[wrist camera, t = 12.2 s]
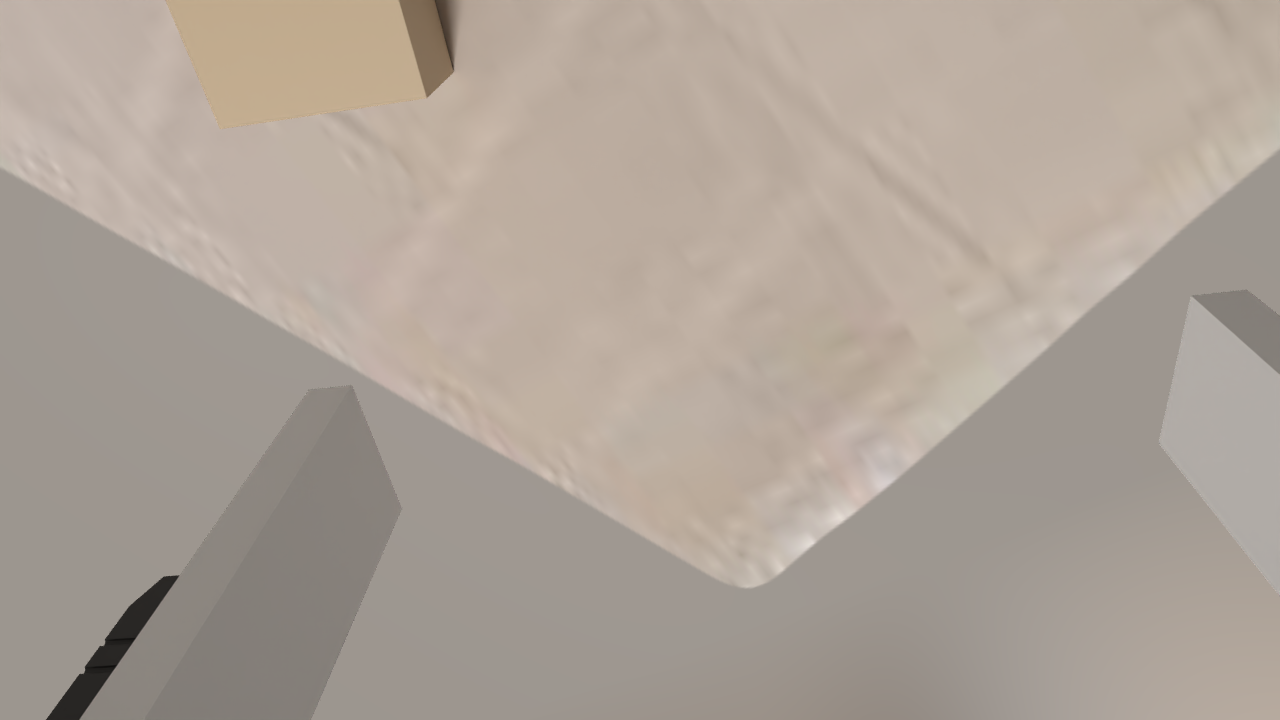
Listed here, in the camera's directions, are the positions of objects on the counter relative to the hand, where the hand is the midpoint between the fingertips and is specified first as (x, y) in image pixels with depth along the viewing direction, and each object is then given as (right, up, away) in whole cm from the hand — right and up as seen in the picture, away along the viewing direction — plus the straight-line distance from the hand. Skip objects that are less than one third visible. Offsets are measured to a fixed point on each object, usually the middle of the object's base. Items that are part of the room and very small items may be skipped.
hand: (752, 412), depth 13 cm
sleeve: (-15, +16, +23) cm, 31 cm away
